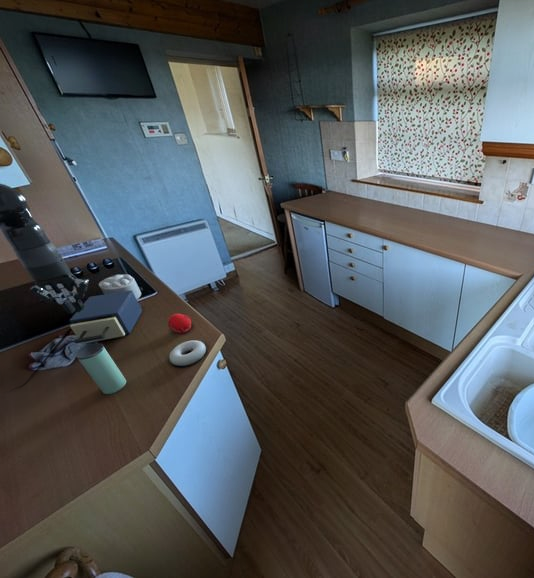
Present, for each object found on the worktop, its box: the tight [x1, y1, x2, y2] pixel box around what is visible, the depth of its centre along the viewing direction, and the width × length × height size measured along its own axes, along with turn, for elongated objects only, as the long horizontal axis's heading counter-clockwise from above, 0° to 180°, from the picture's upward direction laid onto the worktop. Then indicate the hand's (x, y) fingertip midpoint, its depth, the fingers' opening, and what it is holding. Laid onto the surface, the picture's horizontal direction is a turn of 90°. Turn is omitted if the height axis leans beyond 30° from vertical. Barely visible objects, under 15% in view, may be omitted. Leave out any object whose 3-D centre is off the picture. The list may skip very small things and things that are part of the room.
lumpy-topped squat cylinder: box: [98, 273, 142, 300], centre depth 120 cm, size 10×13×9 cm
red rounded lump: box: [167, 313, 192, 334], centre depth 104 cm, size 8×6×6 cm
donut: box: [169, 339, 207, 367], centre depth 93 cm, size 10×4×10 cm
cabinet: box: [69, 291, 143, 335], centre depth 104 cm, size 15×13×9 cm
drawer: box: [69, 315, 126, 345], centre depth 100 cm, size 19×12×7 cm, turn 21°
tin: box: [74, 342, 127, 395], centre depth 80 cm, size 6×6×14 cm
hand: (76, 311), depth 89 cm, fingers closed
